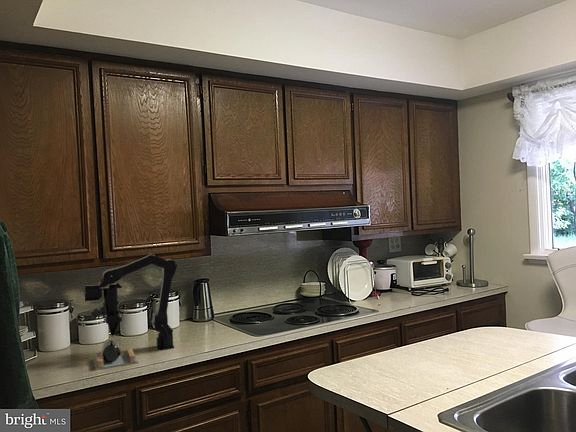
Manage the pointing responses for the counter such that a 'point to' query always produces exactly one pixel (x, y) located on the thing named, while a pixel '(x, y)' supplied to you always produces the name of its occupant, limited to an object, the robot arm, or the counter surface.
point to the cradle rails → (128, 350)
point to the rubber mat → (115, 362)
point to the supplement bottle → (110, 350)
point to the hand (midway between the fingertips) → (112, 335)
